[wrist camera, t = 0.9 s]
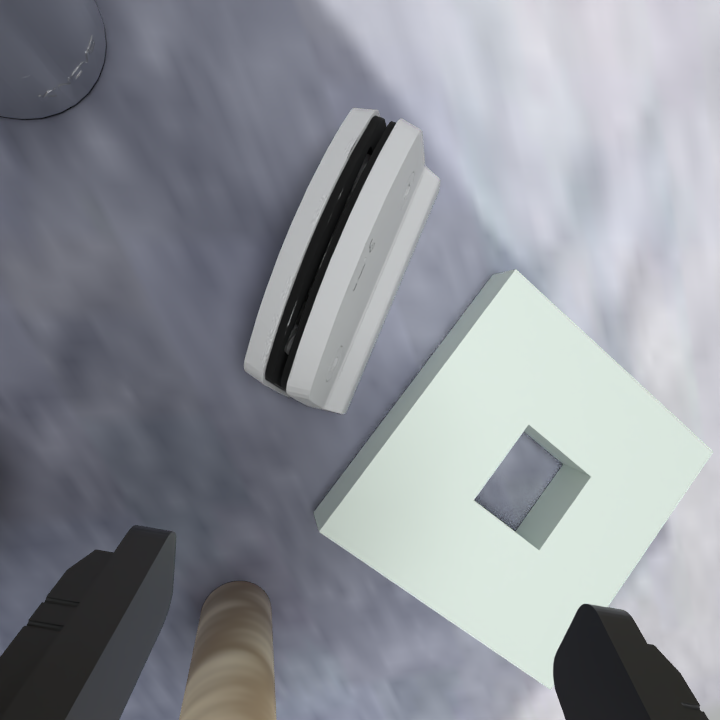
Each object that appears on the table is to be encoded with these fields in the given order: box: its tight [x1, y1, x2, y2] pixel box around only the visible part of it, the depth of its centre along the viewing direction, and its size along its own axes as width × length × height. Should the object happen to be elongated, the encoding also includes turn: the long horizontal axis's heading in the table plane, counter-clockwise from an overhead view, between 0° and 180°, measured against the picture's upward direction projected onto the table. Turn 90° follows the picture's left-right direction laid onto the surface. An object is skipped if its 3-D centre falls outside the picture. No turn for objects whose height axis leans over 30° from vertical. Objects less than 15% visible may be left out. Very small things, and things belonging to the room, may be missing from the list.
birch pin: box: [179, 581, 276, 720], centre depth 24 cm, size 4×4×14 cm
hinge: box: [244, 108, 440, 414], centre depth 27 cm, size 17×5×10 cm, turn 156°
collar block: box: [313, 269, 713, 690], centre depth 32 cm, size 20×20×3 cm
